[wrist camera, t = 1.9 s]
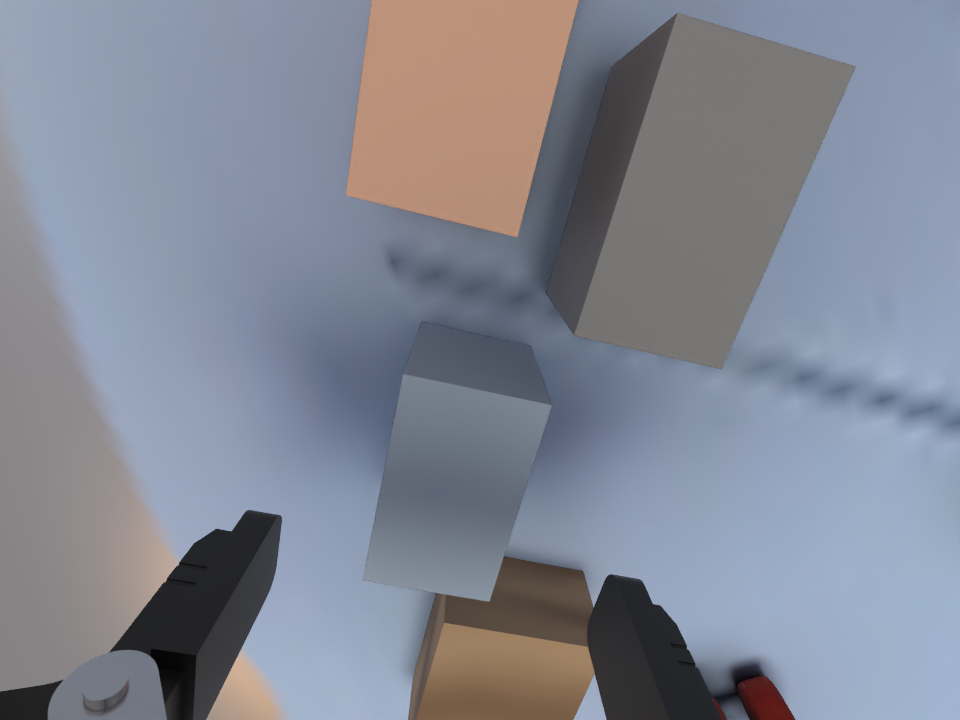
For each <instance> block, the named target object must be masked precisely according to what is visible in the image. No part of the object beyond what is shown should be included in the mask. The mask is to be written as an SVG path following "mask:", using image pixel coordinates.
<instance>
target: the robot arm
mask: <svg viewBox="0 0 960 720" xmlns="http://www.w3.org/2000/svg"><path fill="white" fill-rule="evenodd" d="M281 524H282V517H281V516H280V515H275V514H269V513H263V512H258V511H252V510H248V511H246V512H245V513H244V515H243V516H242V518H241V519H240V520H239V522H238V523H237V525H236V526H235V528H234V529H233V531H232V532H231V531H226V530H220V529H215V530H214V531H212V532H211V533H209V534H208V535H206V536H205V537H203V538H202V539H200V540H199V541H197V542H196V543H194V544H193V546H192V547H191V548H190V550H189V551H188V552H187V553H186V555H185V556H184V557H183V559H182V560H181V561H180V562H179V565H178V566H176V568H175V569H174V570H173V571H172V573H171V574H170V575H169V577H168V578H167V581H166V582H165V583H163V584H162V586H161V587H160V588H159V590H158V591H157V592H156V593H155V595H154V596H153V597H152V599H151V600H150V601H149V602H148V604H147V605H146V606H145V608H144V609H143V610H142V611H141V613H140V614H139V615H138V617H137V618H136V619H135V620H134V622H133V623H132V625H131V626H130V627H129V629H128V630H127V631H126V632H125V633H124V635H123V636H122V637H121V639H120V640H119V641H118V643H117V644H116V645H115V646H114V647H113V648H112V650H111V651H110V652H109V653H106V654H103V655H100V656H98V657H95V658H93V659H91V660H89V661H87V662H86V663H84V664H82V665H81V666H79V667H78V668H76V670H74V671H73V672H72V673H70V674H69V675H68V676H67V677H66V678H65V679H64V680H61V681H58V682H54V683H50V684H46V685H41V686H34V687H28V688H21V689H15V690H8V691H2V692H0V720H206V718H207V716H208V714H209V712H210V710H211V708H212V706H213V704H214V702H215V700H216V698H217V696H218V694H219V692H220V690H221V688H222V686H223V684H224V682H225V680H226V678H227V676H228V674H229V672H230V670H231V668H232V666H233V664H234V662H235V660H236V658H237V656H238V654H239V652H240V650H241V648H242V646H243V644H244V642H245V640H246V638H247V636H248V634H249V632H250V630H251V628H252V626H253V624H254V622H255V620H256V618H257V616H258V614H259V612H260V610H261V608H262V605H263V603H264V601H265V599H266V597H267V595H268V593H269V591H270V588H271V585H272V582H273V579H274V575H275V571H276V566H277V557H278V549H279V541H280V532H281ZM587 644H588V649H589V653H590V657H591V661H592V665H593V668H594V672H595V676H596V680H597V684H598V688H599V692H600V695H601V699H602V703H603V707H604V711H605V715H606V718H607V720H722V719H721V716H720V714H719V712H718V710H717V708H716V706H715V704H714V702H713V700H712V698H711V695H710V693H709V691H708V689H707V687H706V685H705V683H704V681H703V679H702V677H701V675H700V672H699V670H698V668H695V662H694V660H693V658H692V656H691V654H690V651H689V650H687V645H686V643H685V641H684V639H683V637H682V635H681V633H680V631H679V628H678V626H677V625H676V623H675V622H674V621H673V620H672V619H671V618H670V616H669V615H668V614H667V613H666V612H665V611H664V609H663V608H662V607H661V606H660V605H654V604H652V601H651V599H650V597H649V595H648V592H647V590H646V588H645V586H644V584H643V582H642V581H641V580H639V579H635V578H629V577H623V576H618V575H612V574H610V575H608V576H607V578H606V579H605V581H604V584H603V586H602V589H601V591H600V594H599V596H598V599H597V601H596V604H595V606H594V609H593V611H592V614H591V616H590V619H589V622H588V627H587Z"/></svg>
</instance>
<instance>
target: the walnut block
mask: <svg viewBox="0 0 960 720" xmlns="http://www.w3.org/2000/svg"><path fill="white" fill-rule="evenodd" d="M593 609H594V608H593V604H592V601H591V597H590V594H589V590H588V587H587V583H586V580H585V576H584V573H583V571H580V570H574V569H569V568H563V567H558V566H552V565H547V564H541V563H536V562H530V561H525V560H519V559H514V558H508V557H503V561H502V564H501V567H500V570H499V573H498V576H497V579H496V583H495V586H494V589H493V592H492V595H491V598H490V601H489V602H488V601H482V600H476V599H470V598H464V597H458V596H452V595H446V594H440V593H436V596H435V599H434V603H433V606H432V610H431V614H430V617H429V621H428V625H427V628H426V632H425V636H424V639H423V643H422V646H421V650H420V654H419V657H418V661H417V665H416V668H415V672H414V676H413V683H412V691H411V700H410V708H409V716H408V720H573V719H574V717H575V715H576V713H577V711H578V709H579V706H580V704H581V702H582V700H583V698H584V695H585V693H586V691H587V689H588V687H589V684H590V682H591V680H592V678H593V676H594V674H595V672H594V668H593V665H592V661H591V657H590V653H589V649H588V644H587V627H588V622H589V619H590V616H591V614H592V611H593Z"/></svg>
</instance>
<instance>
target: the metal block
mask: <svg viewBox="0 0 960 720" xmlns="http://www.w3.org/2000/svg"><path fill="white" fill-rule="evenodd" d="M551 407H552V404H551V401H550V398H549V395H548V393H547V390H546V387H545V384H544V382H543V379H542V376H541V373H540V371H539V368H538V365H537V362H536V360H535V357H534V354H533V351H532V348H531V346H528V345H524V344H519V343H515V342H510V341H506V340H501V339H497V338H492V337H488V336H483V335H479V334H474V333H470V332H465V331H461V330H456V329H452V328H447V327H443V326H438V325H434V324H429V323H425V322H421V324H420V327H419V330H418V333H417V336H416V339H415V341H414V344H413V347H412V350H411V353H410V356H409V358H408V361H407V364H406V367H405V370H404V373H403V377H402V382H401V387H400V392H399V397H398V402H397V407H396V412H395V417H394V423H393V428H392V433H391V438H390V443H389V448H388V453H387V458H386V463H385V468H384V474H383V479H382V484H381V489H380V494H379V499H378V504H377V509H376V514H375V519H374V524H373V530H372V535H371V540H370V545H369V550H368V555H367V560H366V565H365V570H364V575H363V581H368V582H374V583H380V584H386V585H392V586H398V587H404V588H410V589H416V590H422V591H428V592H434V593H440V594H446V595H452V596H458V597H464V598H470V599H476V600H482V601H488V602H489V601H490V598H491V595H492V592H493V589H494V586H495V583H496V579H497V576H498V573H499V570H500V567H501V564H502V561H503V557H504V554H505V551H506V548H507V545H508V542H509V539H510V536H511V532H512V529H513V526H514V523H515V520H516V517H517V514H518V511H519V507H520V504H521V501H522V498H523V495H524V492H525V489H526V485H527V482H528V479H529V476H530V473H531V470H532V467H533V464H534V460H535V457H536V454H537V451H538V448H539V445H540V442H541V439H542V435H543V432H544V429H545V426H546V423H547V420H548V417H549V414H550V410H551Z"/></svg>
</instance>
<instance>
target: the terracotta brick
mask: <svg viewBox="0 0 960 720" xmlns="http://www.w3.org/2000/svg"><path fill="white" fill-rule="evenodd" d="M578 1H579V0H372V2H371V10H370V17H369V25H368V32H367V40H366V47H365V55H364V62H363V70H362V77H361V85H360V92H359V100H358V108H357V115H356V123H355V130H354V138H353V145H352V153H351V160H350V168H349V175H348V183H347V190H346V196H350V197H354V198H358V199H362V200H366V201H370V202H375V203H379V204H383V205H387V206H391V207H395V208H399V209H403V210H407V211H411V212H416V213H420V214H424V215H428V216H432V217H436V218H440V219H444V220H448V221H452V222H457V223H461V224H465V225H469V226H473V227H477V228H481V229H485V230H489V231H493V232H498V233H502V234H506V235H510V236H514V237H518V233H519V230H520V226H521V222H522V218H523V214H524V210H525V206H526V202H527V199H528V195H529V191H530V187H531V183H532V179H533V175H534V171H535V168H536V164H537V160H538V156H539V152H540V148H541V144H542V140H543V136H544V133H545V129H546V125H547V121H548V117H549V113H550V109H551V105H552V102H553V98H554V94H555V90H556V86H557V82H558V78H559V74H560V70H561V67H562V63H563V59H564V55H565V51H566V47H567V43H568V39H569V36H570V32H571V28H572V24H573V20H574V16H575V12H576V8H577V5H578Z"/></svg>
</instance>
